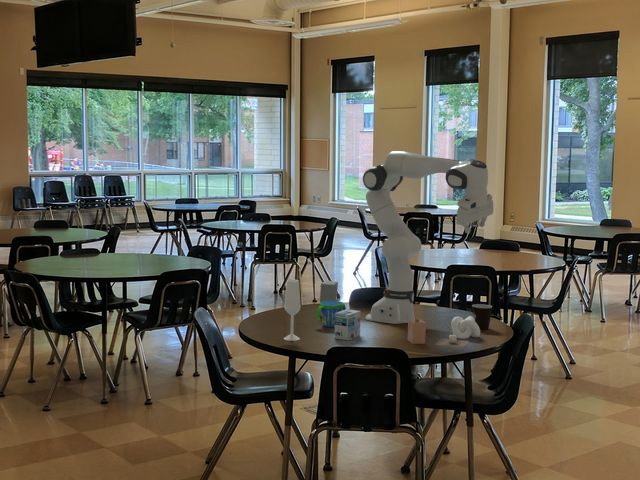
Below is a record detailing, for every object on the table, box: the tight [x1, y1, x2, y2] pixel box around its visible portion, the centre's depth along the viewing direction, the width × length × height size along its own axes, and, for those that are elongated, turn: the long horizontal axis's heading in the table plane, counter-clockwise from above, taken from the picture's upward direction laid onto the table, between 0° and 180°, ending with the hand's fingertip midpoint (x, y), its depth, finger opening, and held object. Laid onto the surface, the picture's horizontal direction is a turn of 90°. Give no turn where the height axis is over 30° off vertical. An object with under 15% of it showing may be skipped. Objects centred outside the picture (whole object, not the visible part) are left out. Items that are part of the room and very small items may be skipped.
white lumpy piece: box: [450, 315, 481, 340], centre depth 349 cm, size 11×12×9 cm
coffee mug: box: [471, 303, 493, 331], centre depth 370 cm, size 12×9×10 cm
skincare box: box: [319, 280, 339, 318], centre depth 388 cm, size 8×7×16 cm
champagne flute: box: [283, 279, 302, 342], centre depth 341 cm, size 7×7×24 cm
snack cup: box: [315, 300, 347, 328], centre depth 367 cm, size 16×10×10 cm
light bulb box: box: [334, 308, 362, 341], centre depth 346 cm, size 11×7×11 cm, turn 148°
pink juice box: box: [407, 317, 427, 345], centre depth 337 cm, size 5×6×10 cm
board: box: [435, 338, 471, 349], centre depth 337 cm, size 12×12×1 cm
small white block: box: [448, 334, 458, 344], centre depth 337 cm, size 3×3×3 cm
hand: (474, 229), depth 357 cm, fingers open, 8 cm apart
